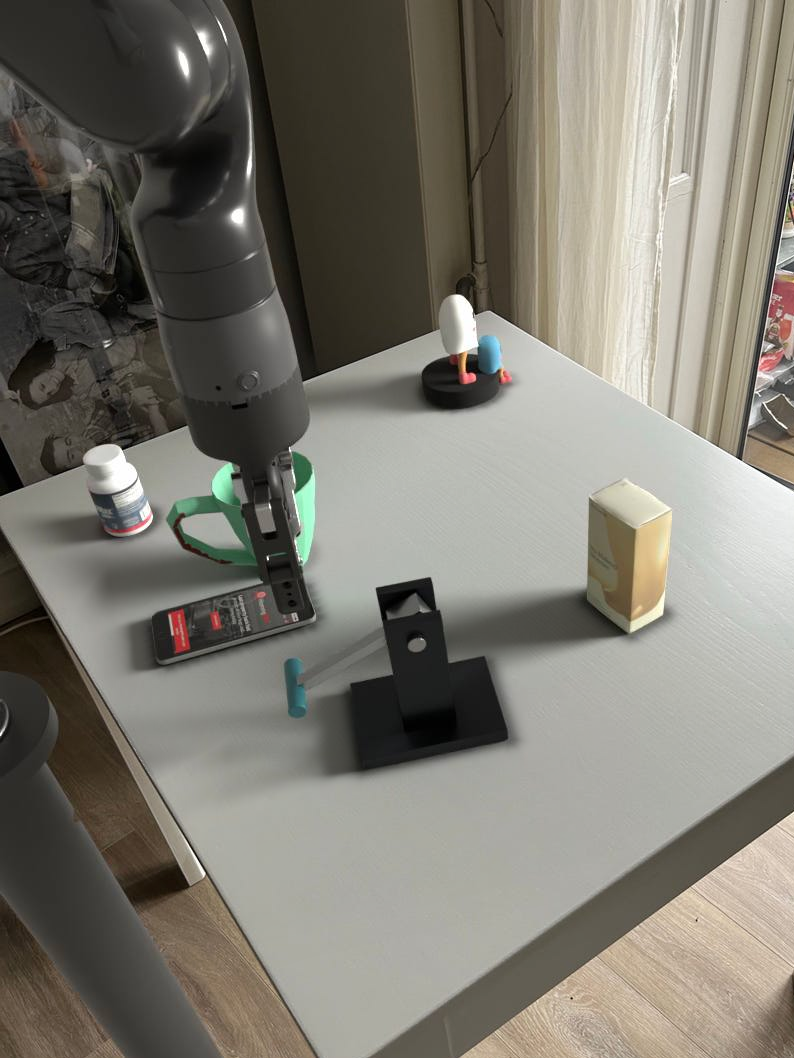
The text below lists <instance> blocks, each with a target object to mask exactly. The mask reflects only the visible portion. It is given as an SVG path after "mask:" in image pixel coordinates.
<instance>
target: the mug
mask: <svg viewBox="0 0 794 1058" xmlns="http://www.w3.org/2000/svg"><path fill="white" fill-rule="evenodd" d="M291 452H292V458H293V463H294V464H293V470H294V475H295V480H296V488H295V490H294V494H295V499H296V503H297V508H298V513H299V518H300V523H301V533H300V535H299V536H298V537H296V541H297V546H298V551H299V555H300V556H302V560H303V564H301V565H302V567H303V566H304V565H305V564H306V563H307V562H308V559H309V557H310V551H311V547H312V543H313V542H312V541H313V538H314V529H315V520H316V514H315V513H316V512H315V498H316V496H315V495H316V478H315V477H316V476H315V471H314V470H315V469H314V466H313V463H312V462H311V461H310V460H309V459H308V456H306V455H304V454H301V453H299V452H297V451H295V450H291ZM233 472H235V471H234V469H233V467H232V463H231V462H227V463H225V464H224V465H223V466H222V467H221V468H220V469H219V470H218V471H217V472H216V473H215V475H214V476H213V479H212V481H211V482H210V483H211V486H210V487H211V495H210V494H209V495H202V496H192V497H188V498H184V499H180V500H177V501H175V502H174V503H173V505H172V507H171V509H170V511H169V512H168V515H167V516H166V518H165V522H166V523H167V525H168V526H169V529H170V530H171V531H172V533H173V535H174V537H175V539H176V540H177V542H178V544H179V545H180V547H181V548H182V549H183V550H185V551H187V552H189V553H192V554H194V555H197V556H199V557H201V558H204V559H206V560H208V561H210V562H213V563H215V564H218V565H224V566H225V565H227V566H251V567H258V564H257V561H256V557H255V554H254V550H253V547H252V543H251V540H250V539H249V537H248V535H247V531H246V526H245V522H244V518H242V515H241V510H242V508H241V503H240V500H239V498H237V497H236V496H235V494H234V489H233V485H232V480H231V473H233ZM219 513H220V514H221V513H222V514H223V515H224V516H225V518H226V520H227V521H228V523H229V525H230V526H231V528H232V531H233V533H235V536H236V537H237V538H238V540H239V541H240V542H241V544H242V545H243V546H244V548H245V549H236V548H235V549H234V548H233V549H232V548H231V549H230V548H216V547H214V546H212V545H210V544H208V543H206V542H204V541H201V540H199V539H198V538H195V537H193V536H191V535H189V534H187V533H185V532H184V529H183V526H182V523H181V522H182V520H183V519H187V518H189V517H192V516H196V515H206V514H219ZM281 554H286V553H278V554H273V555H269V557H271V556H276V555H281Z"/></svg>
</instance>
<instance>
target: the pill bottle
mask: <svg viewBox="0 0 794 1058" xmlns="http://www.w3.org/2000/svg"><path fill="white" fill-rule="evenodd" d="M82 462H83V465H84V468H85V471H86V472H87V475H86V477H85V485H86V488H87V490H88V493H89V495H90V498H91V500H92V502H93V504H94V508H95V509H96V512H97V514H98V516H99V519H100V521H101V523H102V526H103V529H104V530H105V531H106V533H107V534H108V535H111V536H114V537H123V538H124V537H130V536H133V535H136V534H139V533H141V532H143V531H144V530H146V529H147V528H148V527H149V526H150V525H151V523H152V521H153V518H154V517H153V516H154V515H153V512H152V509H151V507H150V504H149V501H148V499H147V496H146V493H145V491H144V489H143V485H142V483H141V479H140V476H139V475H138V472H137V470H136V468H135V467H134V466H133V464H131V463H129V462H127V461H126V456H125V454H124V452H123V450H122V448H121V447H120V446H119V445H118V444H112V443H105V444H101V445H97V446H95V447H93V448H90V449H89V450H88V451H86V452H85V453H84V454H83V457H82Z"/></svg>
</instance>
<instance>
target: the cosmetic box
mask: <svg viewBox="0 0 794 1058" xmlns="http://www.w3.org/2000/svg"><path fill="white" fill-rule="evenodd" d="M672 519H673V508H672V507H671V506H669V505H667V504H665V503H664V502H663V501H661V500H660V499H658V498H657V497H655V496H654V495H653V494H651V493H650V492H649V491H647V490H645V489H643V488H641V487H640V486H639V485H637V484H636V483H635V482H633V481H631V480H630V479H629V478H627V477H622V478H620V479H619V480H616V481H614V482H611V483H610V484H609V485H607V486H604V487H602V488H600V489H598V490H596V491H595V492H593V493H591V494H589V495H588V522H587V523H588V524H587V525H588V527H587V573H586V574H587V575H586V578H587V579H586V601H588V602H589V603H590V604H591V605H592V606H593V607H595V608H596V609H597V610H598V611H599V612H600V613H602V615H604V616H605V617H606V618H608V620H610V621H611V622H613V623H614V624H615V625H617V626H618V627H619V628H620V629H622V630H623V631H624V632H626V634H632V633H634V632H635V631H637V630H639V629H642V628H643V627H645V626H646V625H648V624H650V623H652V622H653V621H655V620H657V619H658V618H660V617H662V616H663V615H664V606H665V594H666V585H667V574H668V563H669V554H670V553H669V552H670V540H671V532H672V531H671V530H672V522H673V521H672Z"/></svg>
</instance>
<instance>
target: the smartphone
mask: <svg viewBox="0 0 794 1058" xmlns="http://www.w3.org/2000/svg"><path fill="white" fill-rule="evenodd" d="M307 591H308V595H309V600H310V608H309V609H308V610H306V611H302V612H297V613H292V614H287V615H283V614H280V613H279V612H278V609H277V605H276V602H275V599H274V595H273V592H272V588H271V585H268V586H264V585H263V582H261V583H258V584H253V585H250V586H247V587H243V588H239V589H235V590H232V591H228V592H225V593H221V594H217V595H214V596H210V597H206V598H203V599H198V600H194V601H191V602H187V603H185V604H181V605H177V606H173V607H170V608H166V609H162V610H159V611H158V610H157V611H156V612H154V613H153V614H151V616H150V627H151V632H152V639H153V646H154V647H153V648H154V653H155V659H156V661H157V663H158V664H159V665H164V666H165V665H171V664H174V663H177V662H180V661H185V660H187V659H191V658H195V657H198V656H201V655H205V654H208V653H212V652H216V651H219V650H223V649H226V648H230V647H234V646H237V645H240V644H243V643H247V642H251V641H254V640H257V639H262V638H265V637H269V636H273V635H275V634H279V633H283V632H286V631H289V630H293V629H294V630H295V629H297V628H300V627H305V626H308V625H310V624H312V623H314V622H315V621H316V620H317V615H316V611H315V607H314V605H313V602H312V600H311V596H310V593H309V590H308V589H307Z"/></svg>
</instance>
